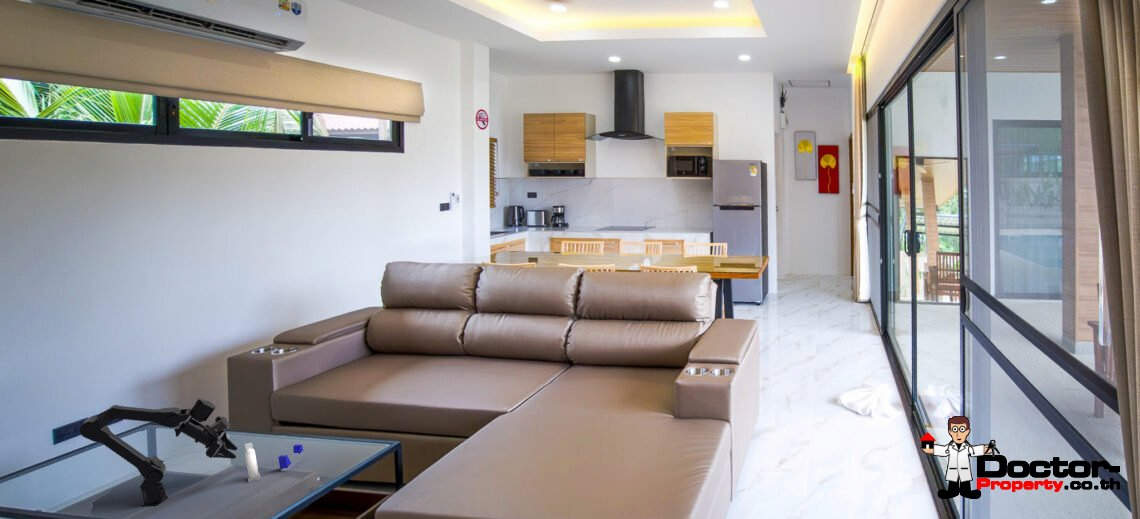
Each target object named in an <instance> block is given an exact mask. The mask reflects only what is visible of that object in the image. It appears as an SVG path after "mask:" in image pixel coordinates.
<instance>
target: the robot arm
mask: <svg viewBox="0 0 1140 519" xmlns="http://www.w3.org/2000/svg"><path fill="white" fill-rule="evenodd" d="M216 408H217V407H216V405H215V404H213V403H212V402H211V401H209V400H205V399H202V398H200V397H199V398H197V399H196V401H195V403H194V405H193V406H192V407H191V408H179V407H173V406H172V407H164V408H163V407H162V408H157V409H154V408H143V407H133V406H124V405H122V406H121V405H118V404H113V405H111V406H110V407H109V408H107V409H105V410H104V411H102V412H101V413H99V414H98V415H95V416H90V417H87V419H85V421H84V422H83V423H82V424H81V425H80V428H79V434H80V435H81V436H82V437H83V438H84V439H87V440H89V441H92V442H95V443H99V444H102V445H103V446H105V447H106V448H108V449H109V450H111V451H112V452H114V453H115V454H116V455H118V456H119V457H121V458H122V459H124V460H125V461H126V462H128V463H129V464H130V465H132V466H133V467H135V468H136V469H137V471H138V472H139V474H140V475H141V477H143V478H142V481H141V483H140V485H139V488H140V490H141V496H142V500H143V502H141V504H140V506H141V507H147V506H150V505H151V506H158V505H160V504H162V503H163V502H164V501H166V499H168V498H169V495H166V489H165V487H164V484H163V482H161V481H163V478H164V476H165V473H166V470H167V465H166V464H165V463H164V460H161V459H160V458H158V457H157V456H156V455H155V454H154V455H152V457H149V456H145V455H144V454H143V453H141V451H138V450H137V449H135V448H134V447H133V446H132V445H130V444H128V443H127V442H126V441H124V440H123V439H122V438H120V437H118V436H117V435H116V434H114V433H113V431H111V429H110V428H109V426H108V425H109V424H110V423H111V422H113V421H114V420H126V421H138V422H147V423H154V424H156V425H159V426H162V427H165V428H169V429H173V428H174V429H173V430H174V433H175V437H177V438H178V437H179V436H180V435H181V433H182V434H184V435H186V436H187V437H189V438H191V439H193V440H194V442H195V443H196V444H198V443H200V444H202V445H203V446H204V448H205V449H206V451H205V456H207V458H210V459H212V458H216V459H217V458H218V459H220V458H221V459H231V460H232V459H233V460H234V459H236V458H237V455H236V454H235V453H234V452H232V451H237V450H238V446H237V445H236V444H234V443H233V442H232V441H231V440H230V439H229V438H228V434H227V429H228V428H229V427H230V422H229V421H228V420H227V418H226V417H225V416H221V415H218V416H216V417H215V419H214V420H215V422H213V423H212V424H211V425H209V424H203V422H206V421H207V420H208V419H209V418H210V416H211V415H212V414H213V413H214V411H215V410H216ZM143 505H144V506H143Z"/></svg>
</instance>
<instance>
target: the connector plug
mask: <svg viewBox="0 0 1140 519" xmlns="http://www.w3.org/2000/svg"><path fill="white" fill-rule="evenodd" d="M244 447H245V448H244V449H245V452H244V454H245V461H246V468H247V472H248V476H247V477H248V479H247V481H248V483H251V482H250V481H253V480H258V481H260V480H261V473H260V472H259V468H258V461H257V456H256V451H255V449H254V447H253V442H248V443H245V444H244ZM259 479H260V480H259Z"/></svg>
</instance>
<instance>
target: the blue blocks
mask: <svg viewBox="0 0 1140 519" xmlns="http://www.w3.org/2000/svg"><path fill="white" fill-rule="evenodd" d="M292 447H293V449H292V450H293V451H292V452H294V453H299V454H300V453H301V452H302V451H303V452H304V447H303V444H295V445H293V446H292ZM288 457H289V456H288V455H284V454H283V455H279V456H278V457H277V458H278V463H279V469H283V468H288V466H289V465H290V464H291V462H290V460H289V458H288Z"/></svg>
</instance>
